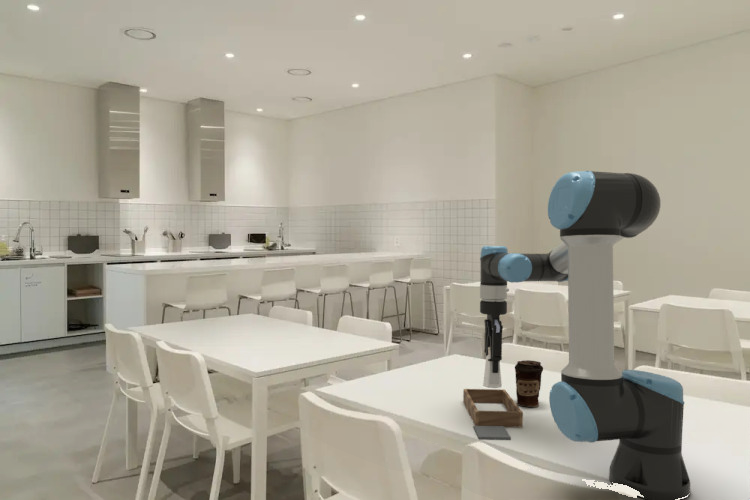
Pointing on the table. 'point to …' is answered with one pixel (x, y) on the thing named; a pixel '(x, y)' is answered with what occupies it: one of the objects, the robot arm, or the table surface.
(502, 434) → the mat
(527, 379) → the coffee cup
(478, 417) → the tray
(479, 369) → the table surface
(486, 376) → the salt shaker
